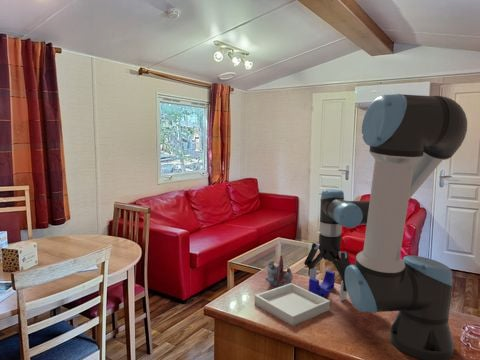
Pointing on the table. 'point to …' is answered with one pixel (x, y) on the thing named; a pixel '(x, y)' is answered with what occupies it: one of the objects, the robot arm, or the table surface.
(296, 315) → the kit tray
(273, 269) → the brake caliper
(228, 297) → the table surface
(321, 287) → the blue curved block
